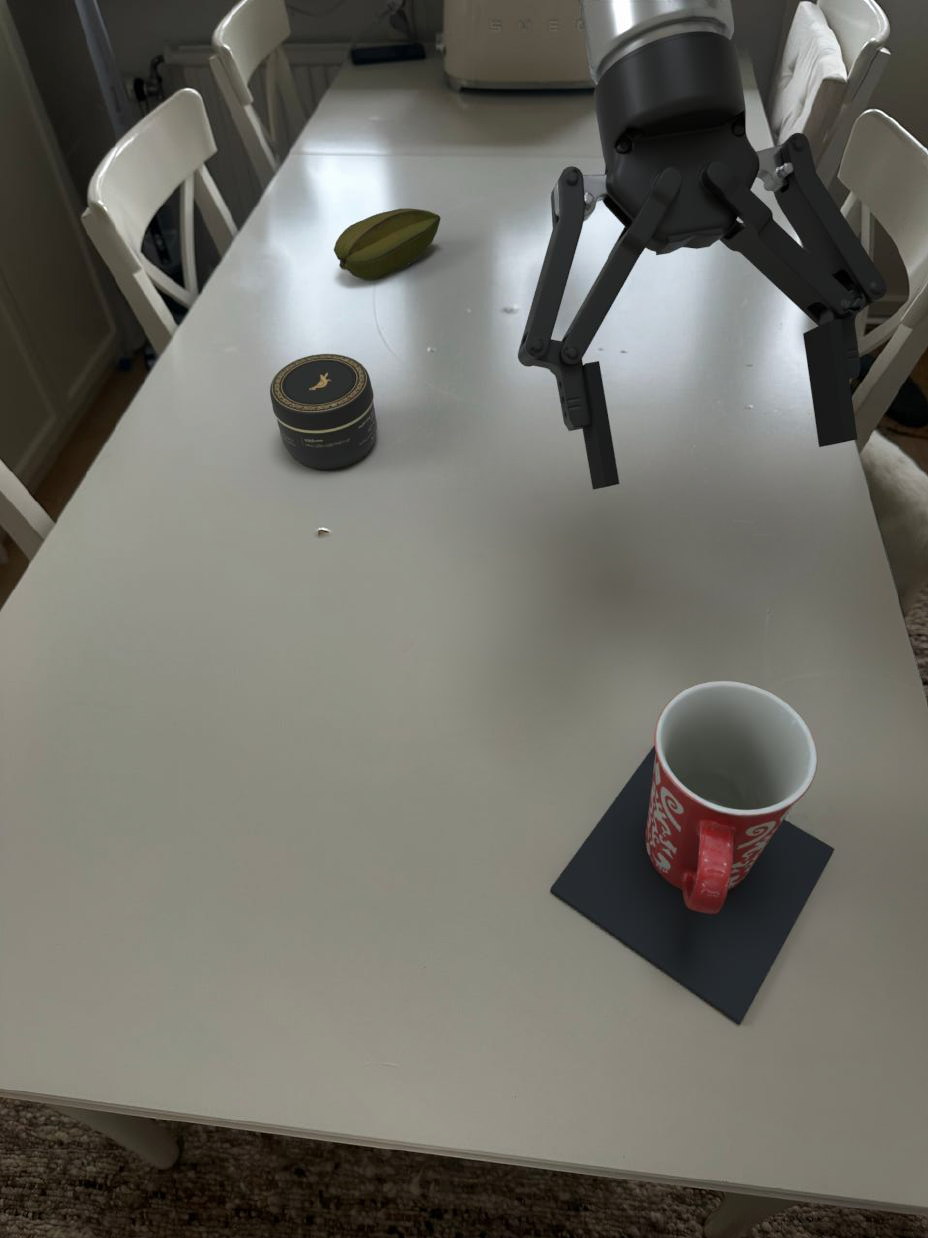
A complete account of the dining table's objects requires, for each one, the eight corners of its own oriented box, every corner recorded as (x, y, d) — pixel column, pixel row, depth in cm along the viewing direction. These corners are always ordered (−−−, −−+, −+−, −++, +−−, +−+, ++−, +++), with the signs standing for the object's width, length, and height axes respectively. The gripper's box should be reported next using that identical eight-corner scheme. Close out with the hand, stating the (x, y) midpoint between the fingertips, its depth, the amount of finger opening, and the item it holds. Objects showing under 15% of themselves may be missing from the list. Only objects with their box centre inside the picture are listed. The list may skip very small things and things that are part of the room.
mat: (832, 852, 60) (834, 848, 59) (738, 1025, 53) (740, 1023, 52) (654, 747, 65) (655, 743, 65) (549, 892, 59) (550, 888, 58)
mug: (645, 770, 64) (671, 663, 53) (772, 805, 61) (825, 700, 51) (605, 935, 56) (625, 848, 46) (747, 981, 54) (803, 900, 44)
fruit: (355, 242, 116) (348, 193, 111) (443, 246, 114) (440, 195, 109) (334, 288, 109) (325, 237, 104) (428, 292, 107) (423, 241, 102)
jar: (384, 411, 93) (374, 349, 87) (376, 474, 86) (365, 412, 80) (292, 414, 93) (276, 352, 87) (277, 476, 87) (259, 414, 81)
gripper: (843, 71, 51) (891, 434, 53) (426, 131, 48) (494, 508, 50) (926, -10, 43) (977, 416, 45) (437, 56, 41) (517, 502, 43)
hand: (723, 465), depth 48 cm, fingers open, 13 cm apart
